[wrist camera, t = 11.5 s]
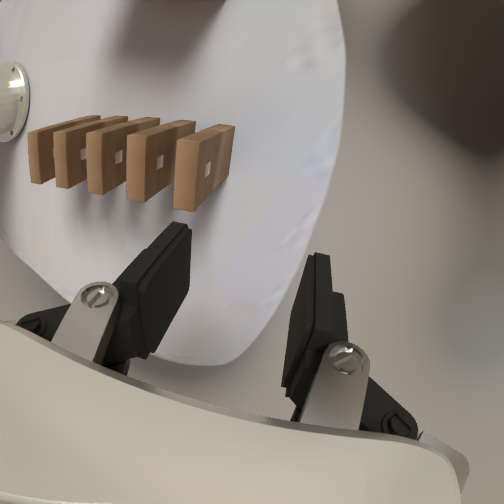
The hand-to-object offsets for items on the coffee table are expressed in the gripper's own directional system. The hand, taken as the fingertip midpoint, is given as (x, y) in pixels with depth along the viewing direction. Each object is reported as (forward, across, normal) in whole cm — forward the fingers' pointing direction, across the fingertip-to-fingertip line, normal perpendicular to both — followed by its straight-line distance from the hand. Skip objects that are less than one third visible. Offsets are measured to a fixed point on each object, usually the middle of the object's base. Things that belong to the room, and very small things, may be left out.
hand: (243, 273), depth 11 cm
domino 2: (+19, +18, 0) cm, 26 cm away
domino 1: (+19, +22, 0) cm, 29 cm away
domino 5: (+19, +6, 0) cm, 20 cm away
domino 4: (+19, +10, 0) cm, 22 cm away
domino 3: (+19, +14, 0) cm, 24 cm away
